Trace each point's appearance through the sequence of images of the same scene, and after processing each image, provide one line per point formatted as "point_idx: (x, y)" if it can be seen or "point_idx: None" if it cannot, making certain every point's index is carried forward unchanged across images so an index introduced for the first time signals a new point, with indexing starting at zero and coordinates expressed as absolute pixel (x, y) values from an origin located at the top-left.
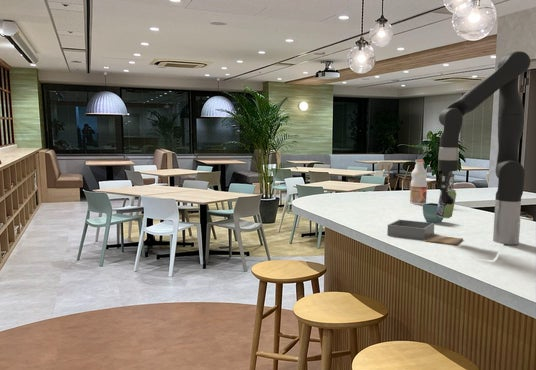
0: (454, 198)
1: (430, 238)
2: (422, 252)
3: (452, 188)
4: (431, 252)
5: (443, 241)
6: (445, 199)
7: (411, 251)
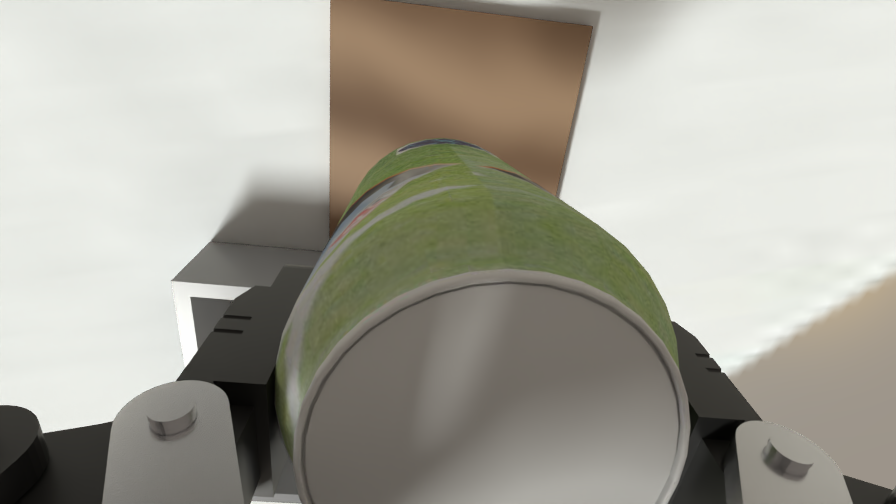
0: (549, 193)
1: None
2: (873, 220)
3: (30, 420)
4: (865, 170)
5: (535, 137)
6: (685, 335)
7: (855, 279)
